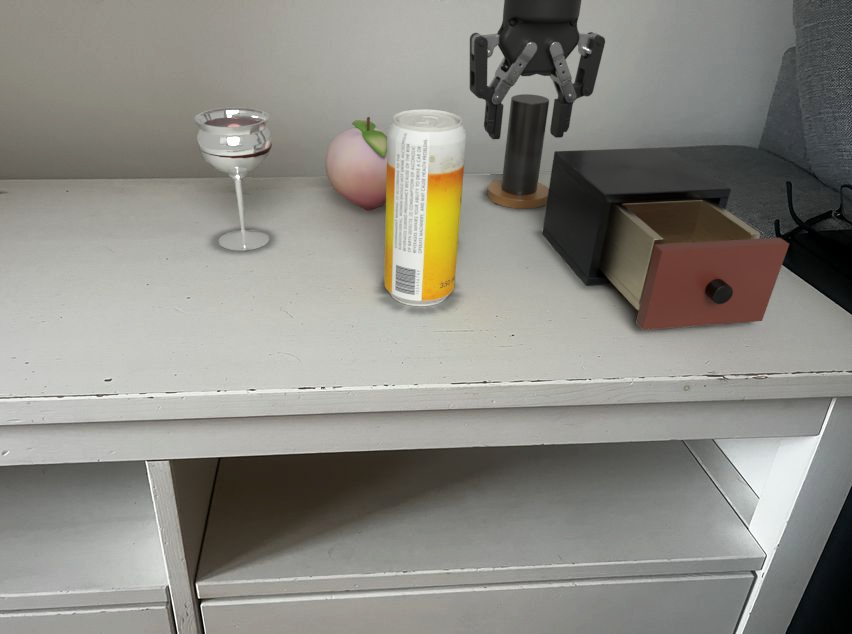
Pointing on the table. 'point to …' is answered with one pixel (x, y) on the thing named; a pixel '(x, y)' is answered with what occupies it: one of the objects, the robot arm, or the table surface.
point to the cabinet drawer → (689, 263)
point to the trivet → (517, 196)
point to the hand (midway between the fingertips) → (525, 136)
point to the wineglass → (235, 158)
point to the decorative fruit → (359, 164)
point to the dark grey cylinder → (524, 144)
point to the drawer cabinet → (613, 196)
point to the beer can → (423, 205)
